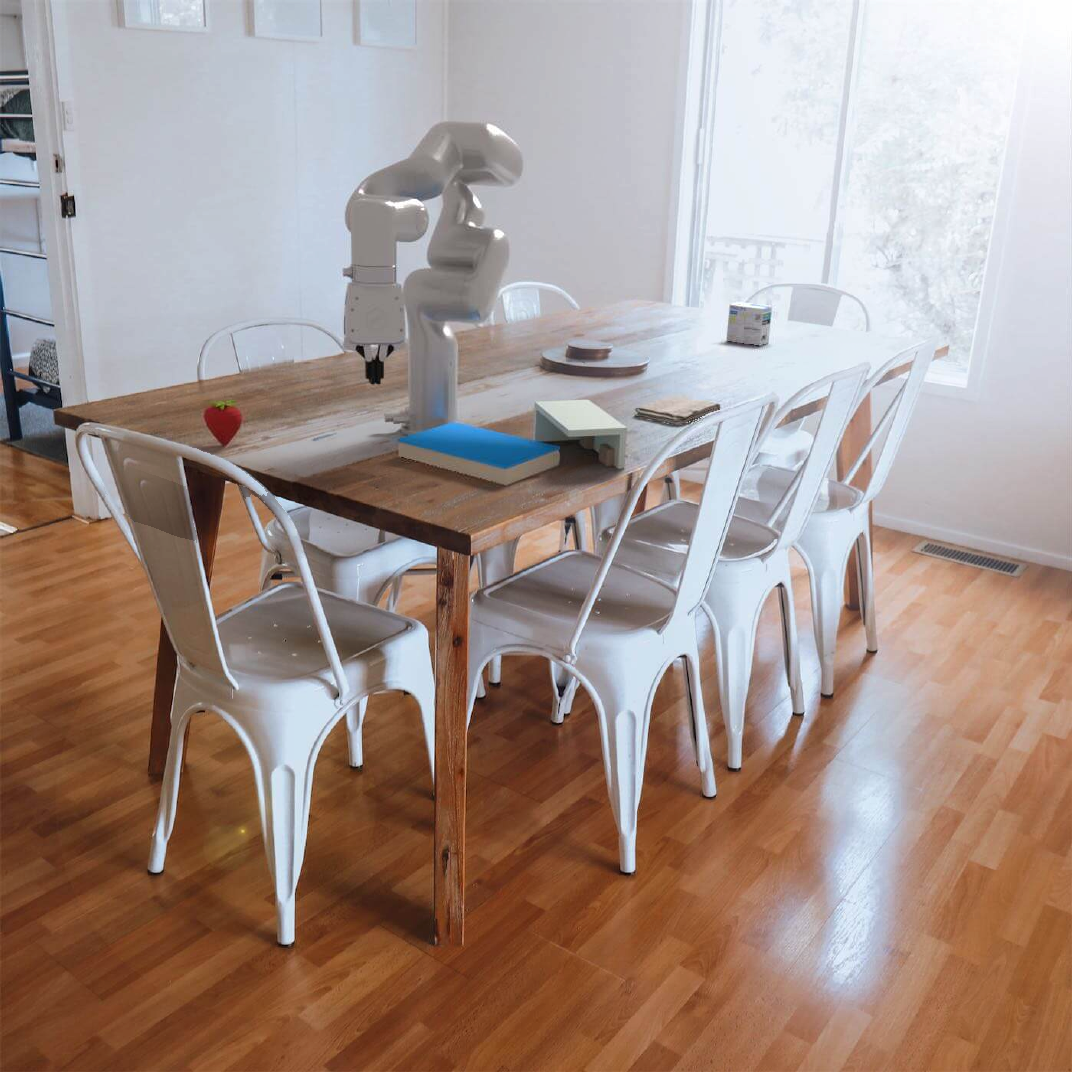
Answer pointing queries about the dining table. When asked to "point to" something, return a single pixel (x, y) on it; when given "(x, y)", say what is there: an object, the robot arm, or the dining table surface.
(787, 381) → the dining table surface
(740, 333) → the light bulb box
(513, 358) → the dining table surface
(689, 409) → the washcloth
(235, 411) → the strawberry
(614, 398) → the dining table surface
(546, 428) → the shelf
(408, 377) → the robot arm
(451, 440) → the book
